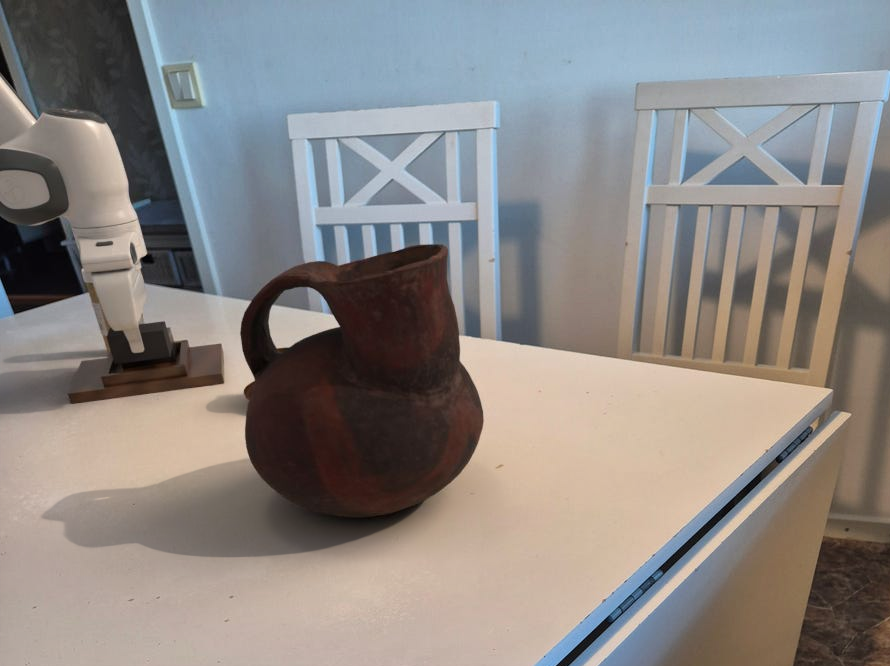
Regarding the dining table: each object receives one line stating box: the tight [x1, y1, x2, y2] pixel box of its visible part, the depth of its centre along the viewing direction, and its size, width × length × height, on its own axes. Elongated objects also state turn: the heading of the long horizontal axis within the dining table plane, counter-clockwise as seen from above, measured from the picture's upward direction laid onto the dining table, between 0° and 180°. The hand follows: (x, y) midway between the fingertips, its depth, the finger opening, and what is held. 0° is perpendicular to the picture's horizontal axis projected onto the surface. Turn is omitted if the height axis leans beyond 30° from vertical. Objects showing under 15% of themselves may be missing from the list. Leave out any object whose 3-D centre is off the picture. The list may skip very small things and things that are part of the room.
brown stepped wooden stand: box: [67, 326, 225, 405], centre depth 129 cm, size 22×16×6 cm
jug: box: [239, 243, 485, 518], centre depth 86 cm, size 25×25×25 cm
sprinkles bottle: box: [80, 268, 111, 355], centre depth 138 cm, size 5×5×13 cm
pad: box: [107, 320, 172, 364], centre depth 125 cm, size 8×5×4 cm, turn 105°
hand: (140, 345), depth 125 cm, fingers closed on pad, 5 cm apart
